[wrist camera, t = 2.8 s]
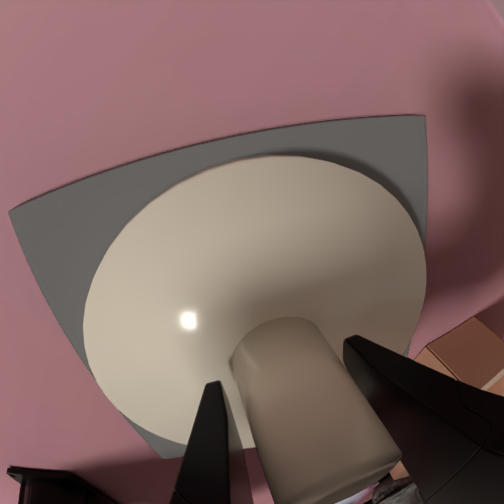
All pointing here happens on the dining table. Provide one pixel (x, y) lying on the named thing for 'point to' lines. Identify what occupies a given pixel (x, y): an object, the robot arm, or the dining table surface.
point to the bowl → (465, 362)
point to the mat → (184, 164)
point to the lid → (261, 314)
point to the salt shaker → (396, 491)
